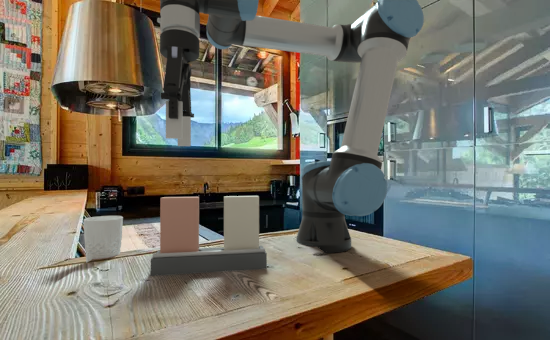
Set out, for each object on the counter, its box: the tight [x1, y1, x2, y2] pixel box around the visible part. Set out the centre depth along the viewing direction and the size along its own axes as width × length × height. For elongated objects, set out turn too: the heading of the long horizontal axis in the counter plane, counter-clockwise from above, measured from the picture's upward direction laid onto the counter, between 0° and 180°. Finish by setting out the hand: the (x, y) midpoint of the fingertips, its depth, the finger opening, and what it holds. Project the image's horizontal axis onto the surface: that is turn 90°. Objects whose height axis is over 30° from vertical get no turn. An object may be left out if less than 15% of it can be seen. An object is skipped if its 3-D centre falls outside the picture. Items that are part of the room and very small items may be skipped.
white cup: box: [83, 215, 124, 264], centre depth 68 cm, size 8×8×10 cm
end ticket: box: [159, 196, 200, 253], centre depth 58 cm, size 7×2×14 cm, turn 100°
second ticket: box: [223, 195, 260, 250], centre depth 60 cm, size 7×2×14 cm, turn 100°
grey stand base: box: [150, 245, 268, 277], centre depth 58 cm, size 22×6×5 cm, turn 100°
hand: (179, 142), depth 58 cm, fingers open, 13 cm apart
